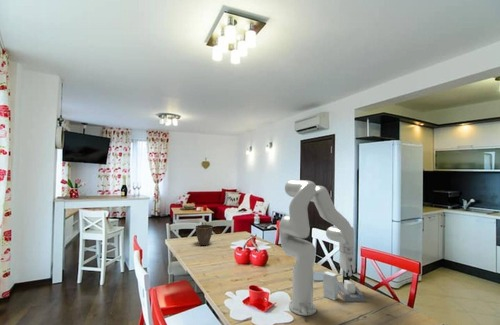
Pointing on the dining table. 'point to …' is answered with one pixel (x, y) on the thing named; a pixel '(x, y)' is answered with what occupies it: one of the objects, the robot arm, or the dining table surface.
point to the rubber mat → (318, 276)
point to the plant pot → (204, 234)
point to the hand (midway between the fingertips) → (346, 283)
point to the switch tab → (349, 286)
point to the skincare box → (330, 285)
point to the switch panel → (347, 296)
